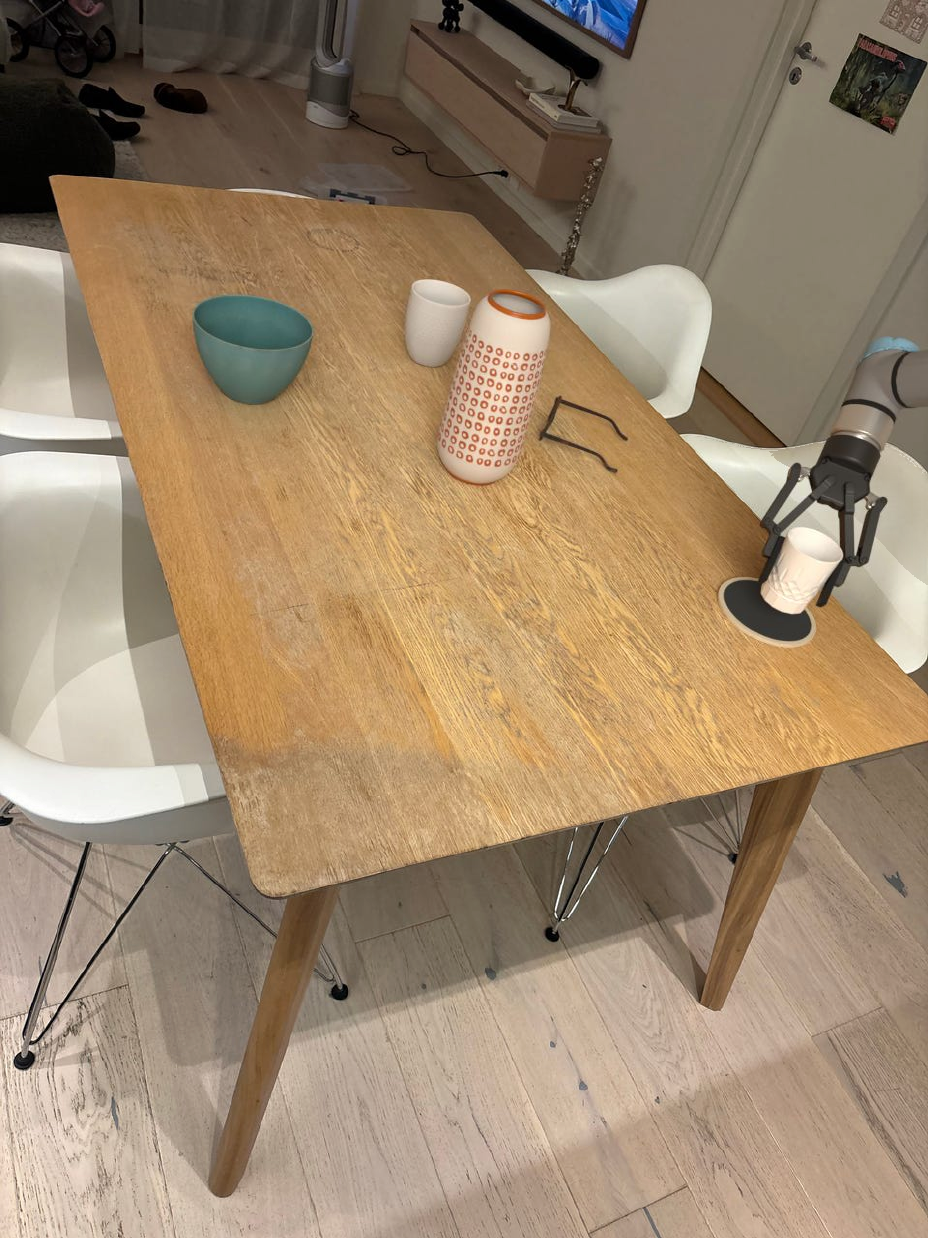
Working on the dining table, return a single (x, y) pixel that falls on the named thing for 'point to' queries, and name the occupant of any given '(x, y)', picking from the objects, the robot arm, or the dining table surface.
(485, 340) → the patterned vase
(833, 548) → the white cup
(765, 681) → the dining table surface
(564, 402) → the eyeglasses
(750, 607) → the face circle
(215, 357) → the teal bowl
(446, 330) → the mug
